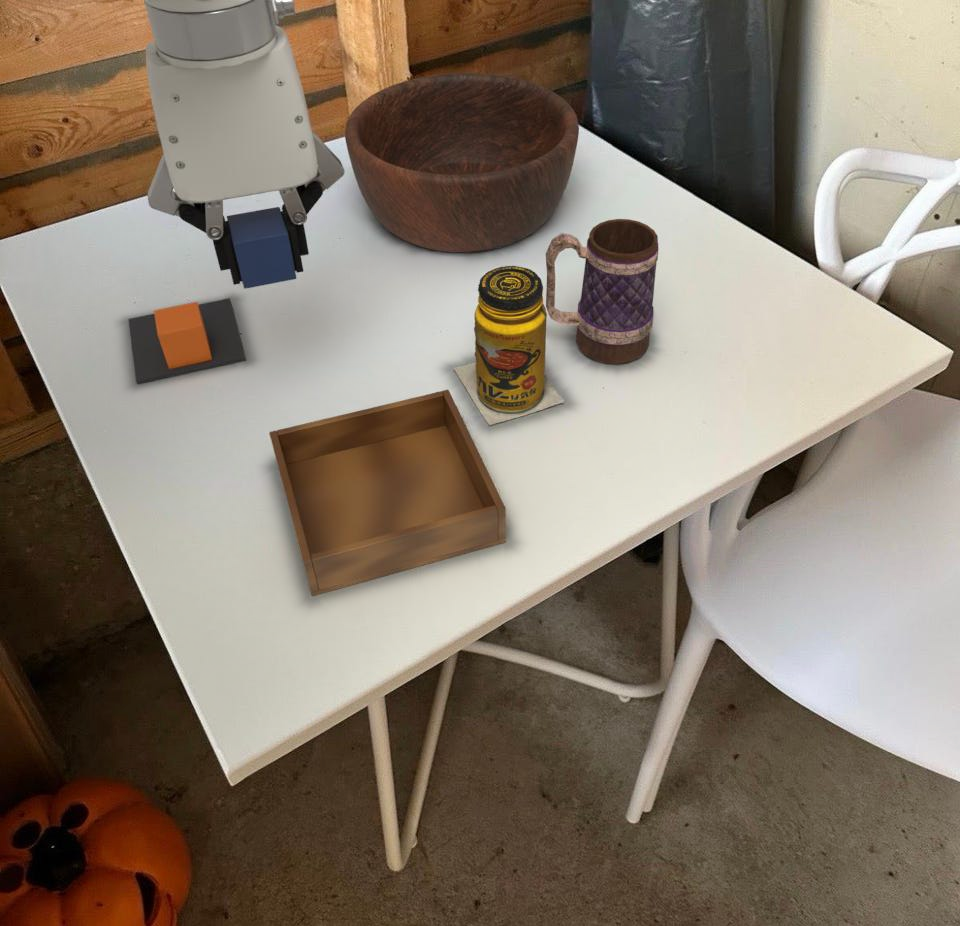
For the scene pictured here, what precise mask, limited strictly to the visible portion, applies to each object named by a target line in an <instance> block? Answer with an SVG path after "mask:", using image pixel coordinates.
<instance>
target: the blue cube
mask: <svg viewBox="0 0 960 926" xmlns="http://www.w3.org/2000/svg"><path fill="white" fill-rule="evenodd" d="M281 211H282V209H281V207H280V206H275V207H271V208H270V207H269V208H263V209H259V210H258V209H257V210H253V211H246V212H242V213H241V212H240V213H236V214H230V215H226V221H228V223H229V227H230V231H231V236H232V241H233V245H234V249H235V254H236V258H237V262H238V266H239V270H240V274H241V278H242V282H241V283H242V286H243V289H245V290H247V289H251V288H256V287H261V286H267V285H271V284H277V283H283V282H287V281H293V280H297V272H296V271H295V267H294V262H293V257H292V252H291V246H290V241H289V236H288V232H287V229H286V226H285V223H284V220H283V217H282V214H281Z"/></svg>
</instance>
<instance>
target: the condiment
mask: <svg viewBox="0 0 960 926" xmlns="http://www.w3.org/2000/svg"><path fill="white" fill-rule="evenodd" d="M543 291H544V285H543V282H542V279H541V277H540V276H539V275H538V274H537V273H536V272H535V271H533V270H532V269H530V268H528V267H523V266H518V265H517V266H516V265H504V266H499V267H496V268H493V269H491V270H489V271H486V273H485V274H484V275H483V276H481V278H480V279H479V283H478V285H477V292H478V297H477V302H478V303H477V305H476V308H475V310H474V327H473V331H474V338H475V342H474V345H475V347H474V349H475V352H474V356H475V361H474V362H470V363H469V364H463V365H459V366H456V367H453V370H454V371H455V373H456V374H457V376H458V378H459V379H460V381H461V382H462V384H463V386H464V387H465V388H466V390H467V393H468V394H469V396H470V397H471V399H472V401H473V403H474V404H475V406H476V407H477V409H478V410H479V412H480V414H481V415H482V417H483V419H484V420H485V421H486V423H487V424H488V425H489V426H491V425H495V424H499V423H503V422H506V421H511V420H515V419H517V418H520V417H525V416H527V415H530V414H533V413H536V412H540V411H542V410H545V409H547V408H550V407H553V406H556V405H560V404H563V403H565V400H564V399H563V397H562V396H561V395H560V394H559V392H558V391H557V390H556V388H555V386H553V384H552V383H551V381H550V380H549V378H547V376H546V373H545V372H546V349H547V348H546V345H547V343H546V342H547V341H546V340H547V318H548V312H547V308H546V305H545V304H544V296H543V294H544V293H543Z"/></svg>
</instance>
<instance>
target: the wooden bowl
mask: <svg viewBox="0 0 960 926" xmlns="http://www.w3.org/2000/svg"><path fill="white" fill-rule="evenodd" d="M578 120H579V119H578V116H577V114H576V112H575V110H574V109H573V107H572V106H571V105H570V104H569V102H568V101H566V99H564V98H563V97H562V96H560V95H559V94H557V93H555V92H554V91H552V90H550V89H549V88H547V87H544V86H542V85H540V84H537V83H534V82H532V81H529V80H525V79H521V78H517V77H512V76H507V75H503V74H502V75H501V74H493V73H483V72H482V73H481V72H454V73H453V72H451V73H442V74H441V73H440V74H433V75H427V76H422V77H416V78H413V79H408V80H404V81H401V82H399V83H395V84H393V85H389V86H387V87H385V88H383V89H380V90H379V91H377V92H375V93H373V94H372V95H370V96H368V97H367V98H365V100H363V101H362V102H360V103H359V104H358V105H357V106H356V107H355V108H354V109H353V110H352V112H351V113H350V114H349V116H348V119H347V120H346V123H345V130H344V139H345V143H346V149H347V153H348V157H349V160H350V164H351V168H352V171H353V174H354V178H355V180H356V183H357V187H358V189H359V191H360V194H361V196H362V197H363V200H364V202H365V203H366V205H367V207H368V208H369V210H370V211H371V213H372V214H373V215H374V217H375V218H376V220H378V222H379V223H380V224H381V225H382V226H383V227H384V228H385V229H386V230H387V231H388V232H390V233H392V234H393V235H394V236H396V237H398V238H400V239H401V240H403V241H404V242H407V243H409V244H412V245H415V246H418V247H420V248H425V249H429V250H434V251H440V252H448V253H470V252H471V253H472V252H482V251H488V250H494V249H499V248H502V247H505V246H509V245H512V244H514V243H516V242H519V241H521V240H523V239H524V238H526V237H528V236H530V235H532V234H533V233H534V232H536V231H537V230H538V229H540V228H541V227H542V226H544V224H545V223H547V221H548V220H549V218H550V217H551V216H552V215H553V214H554V212H555V210H556V209H557V207H558V205H559V204H560V202H561V200H562V198H563V196H564V193H565V191H566V188H567V187H568V184H569V180H570V177H571V174H572V171H573V170H572V169H573V167H574V166H573V165H574V161H575V157H576V151H577V147H578V141H579V135H580V126H579V125H580V124H579V121H578Z"/></svg>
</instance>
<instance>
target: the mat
mask: <svg viewBox="0 0 960 926" xmlns="http://www.w3.org/2000/svg"><path fill="white" fill-rule="evenodd" d="M198 306H199V309H200V313H201V316H202V320H203V323H204V326H205V330H206V333H207V337H208V342H209V347H210V351H211V356H212V360H210V361H205V362H200V363H196V364H191V365H187V366H182V367H178V368H173V369H169V367H168V364H167V361H166V359H165V356H164V353H163V350H162V347H161V344H160V341H159V338H158V334H157V328H156V321H155V315H154V313H150V314H145V315H141V316H135V317H131V318H128V327H129V337H130V343H131V351H132V360H133V367H134V375H135V382H136V384H137V385H138V384H139V385H140V384H144V383H147V382H153V381H157V380H161V379H165V378H170V377H171V378H172V377H175V376H180V375H185V374H188V373H189V374H190V373H193V372H197V371H202V370H208V369H212V368H215V367H220V366H226V365H230V364H234V363H239V362H243V361H246V357H245V353H244V349H243V348H244V347H243V344H242V341H241V336H240V333H239V329H238V325H237V321H236V317H235V314H234V309H233V305H232V302H231V298H230V297H229V298H224V299H219V300H214V301H209V302H205V303H198Z"/></svg>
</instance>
